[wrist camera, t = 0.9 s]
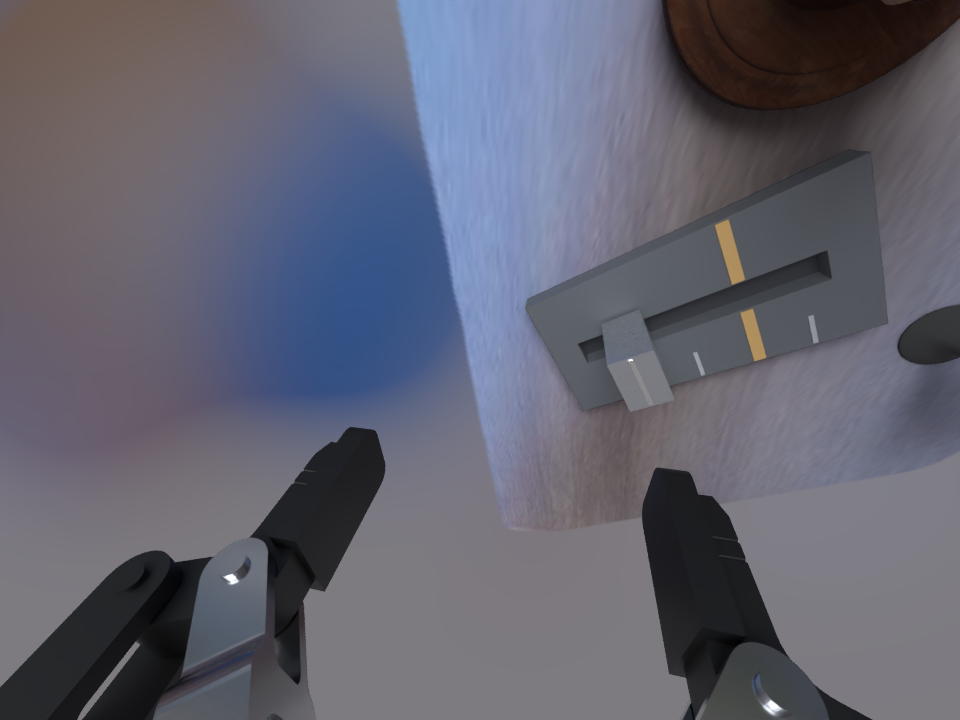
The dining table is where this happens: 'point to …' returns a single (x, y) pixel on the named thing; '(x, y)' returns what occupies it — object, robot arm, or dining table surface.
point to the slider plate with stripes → (731, 283)
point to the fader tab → (635, 362)
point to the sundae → (933, 337)
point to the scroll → (798, 45)
